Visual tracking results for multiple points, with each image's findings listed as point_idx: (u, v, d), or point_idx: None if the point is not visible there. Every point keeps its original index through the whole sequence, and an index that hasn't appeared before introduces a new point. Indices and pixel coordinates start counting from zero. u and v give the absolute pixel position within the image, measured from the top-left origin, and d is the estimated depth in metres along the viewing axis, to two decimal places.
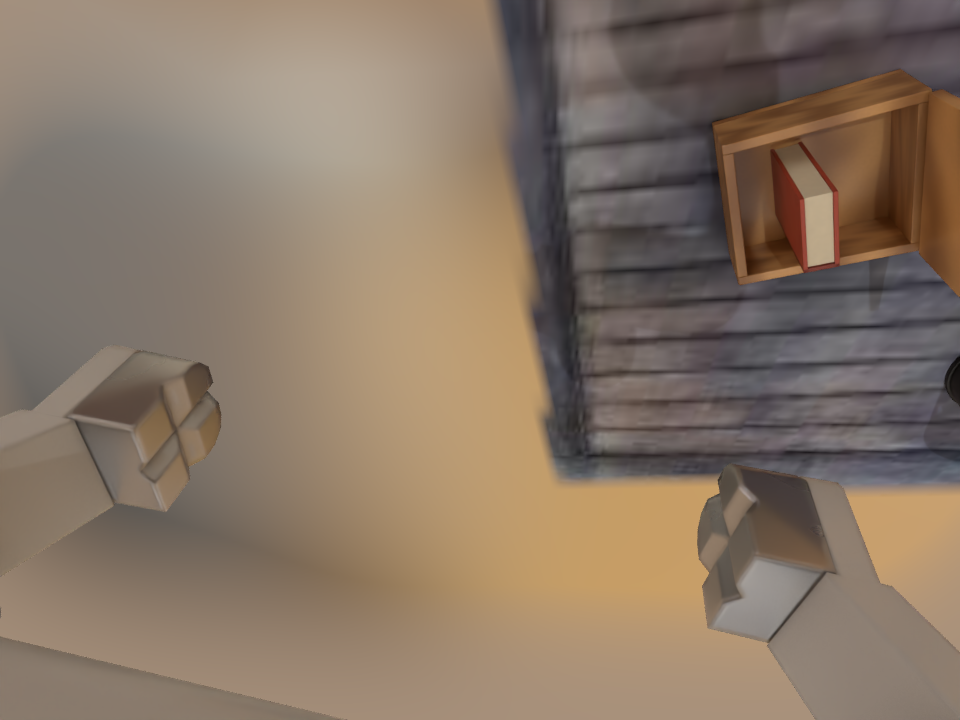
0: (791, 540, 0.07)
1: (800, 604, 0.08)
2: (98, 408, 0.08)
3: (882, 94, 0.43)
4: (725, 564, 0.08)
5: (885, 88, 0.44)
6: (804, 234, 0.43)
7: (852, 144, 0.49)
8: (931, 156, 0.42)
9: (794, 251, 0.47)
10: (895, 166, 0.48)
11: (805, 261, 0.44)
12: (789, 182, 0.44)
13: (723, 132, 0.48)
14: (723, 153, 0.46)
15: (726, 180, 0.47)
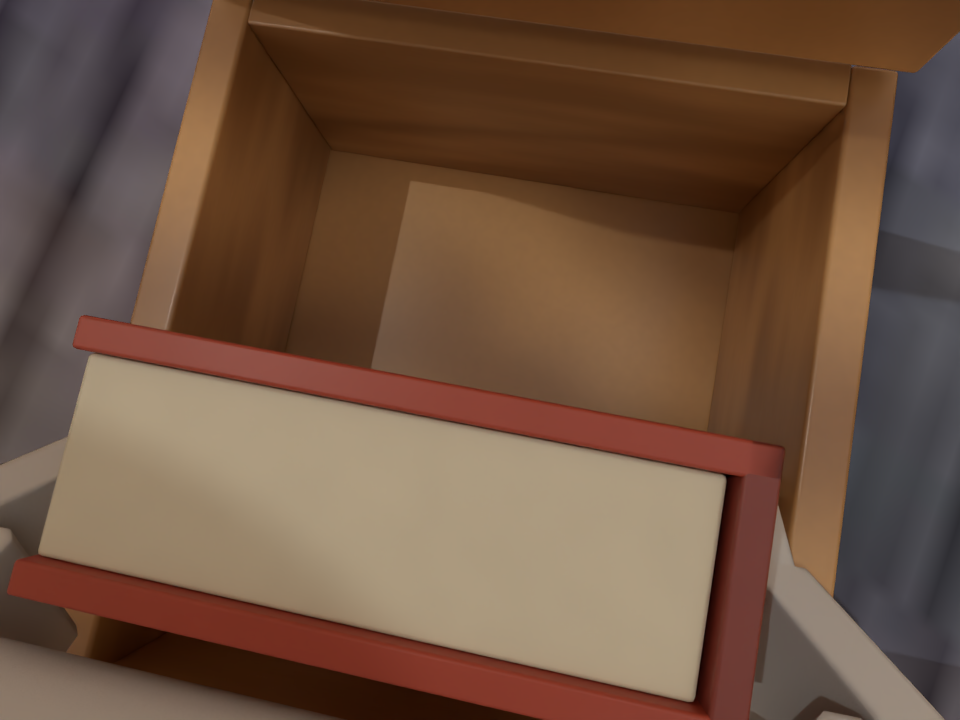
0: None
1: None
2: None
3: None
4: None
5: None
6: (329, 646, 0.05)
7: (450, 266, 0.16)
8: None
9: None
10: (550, 162, 0.15)
11: (614, 716, 0.05)
12: None
13: None
14: None
15: None
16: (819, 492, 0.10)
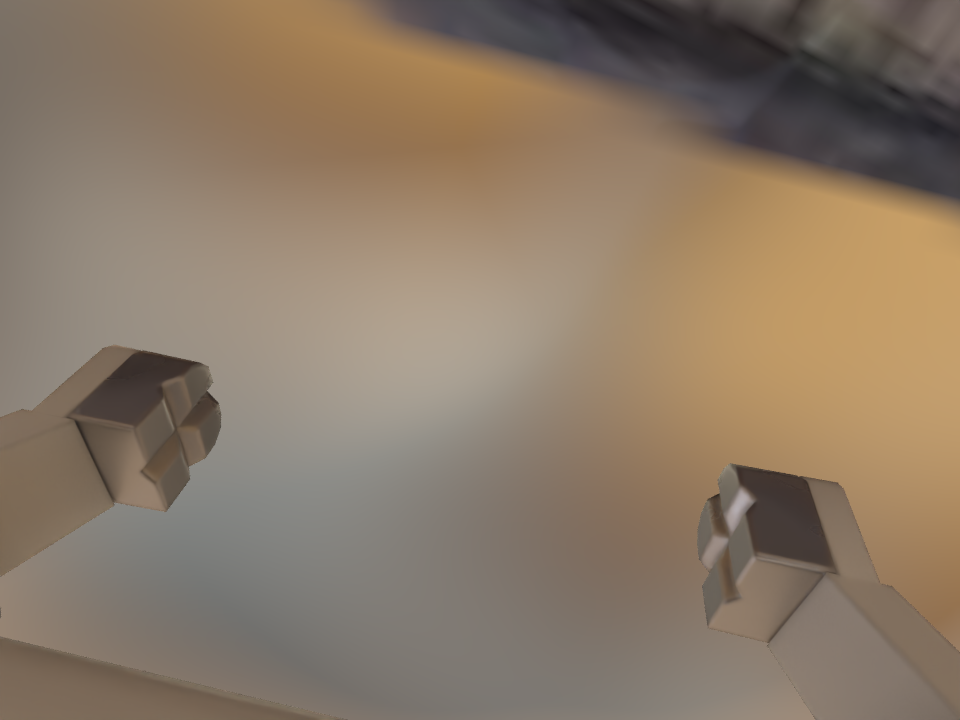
0: (791, 540, 0.07)
1: (800, 604, 0.08)
2: (97, 408, 0.08)
3: None
4: (725, 564, 0.08)
5: None
6: None
7: None
8: None
9: None
10: None
11: None
12: None
13: None
14: None
15: None
16: None
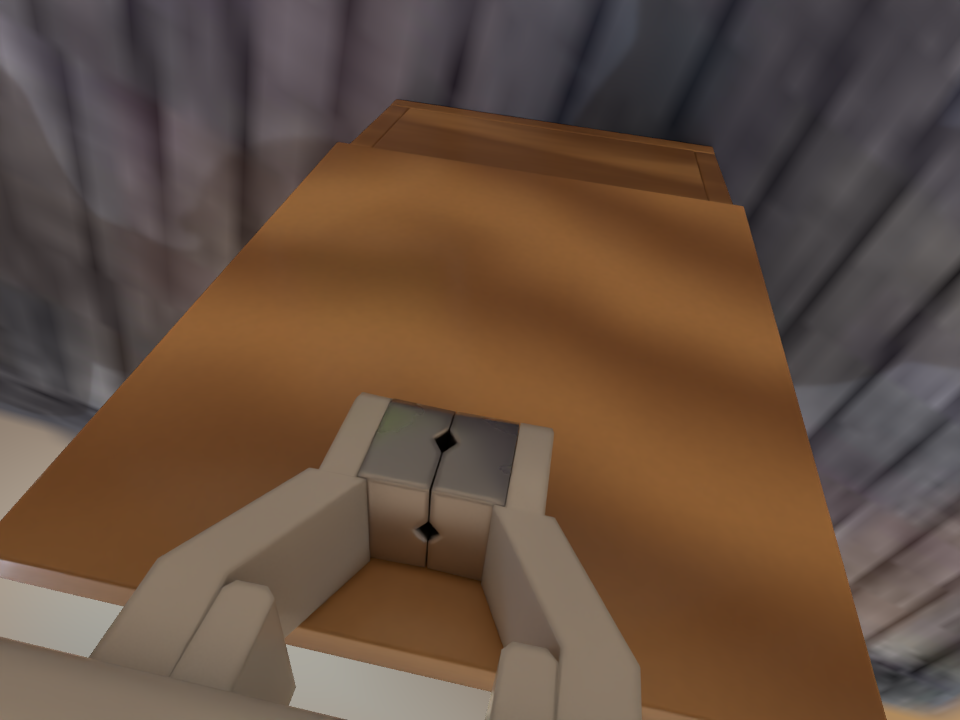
0: (475, 477, 0.08)
1: (489, 539, 0.08)
2: (383, 465, 0.08)
3: None
4: None
5: None
6: None
7: None
8: None
9: None
10: None
11: None
12: None
13: None
14: None
15: None
16: None
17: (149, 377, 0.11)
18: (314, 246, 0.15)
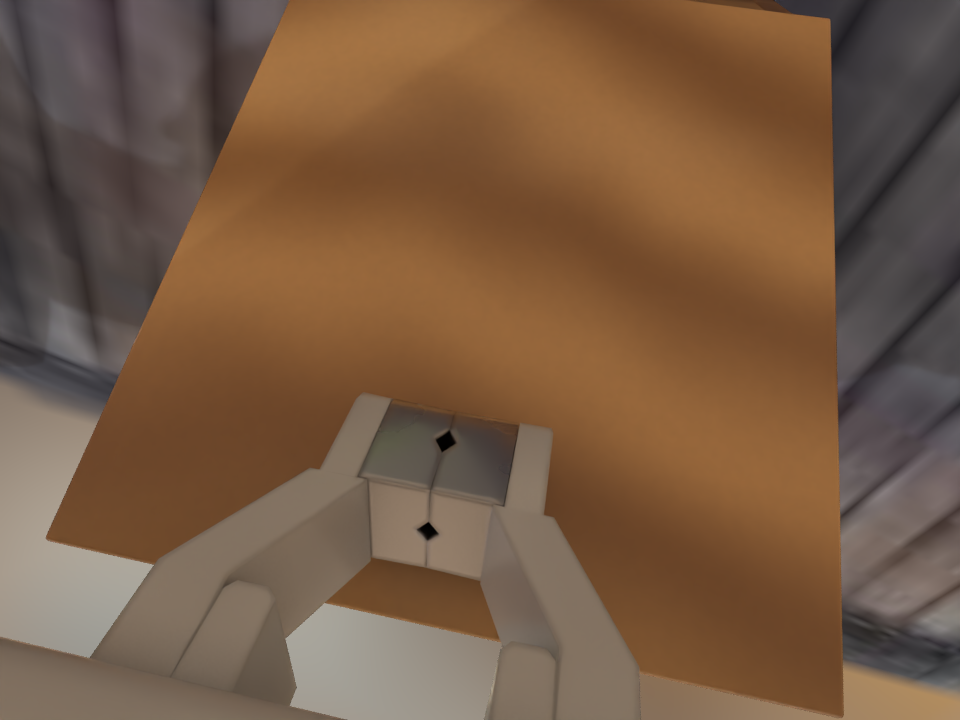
0: (474, 477, 0.08)
1: (488, 539, 0.08)
2: (384, 465, 0.08)
3: None
4: None
5: None
6: None
7: None
8: None
9: None
10: None
11: None
12: None
13: None
14: None
15: None
16: None
17: (155, 340, 0.11)
18: (300, 140, 0.13)
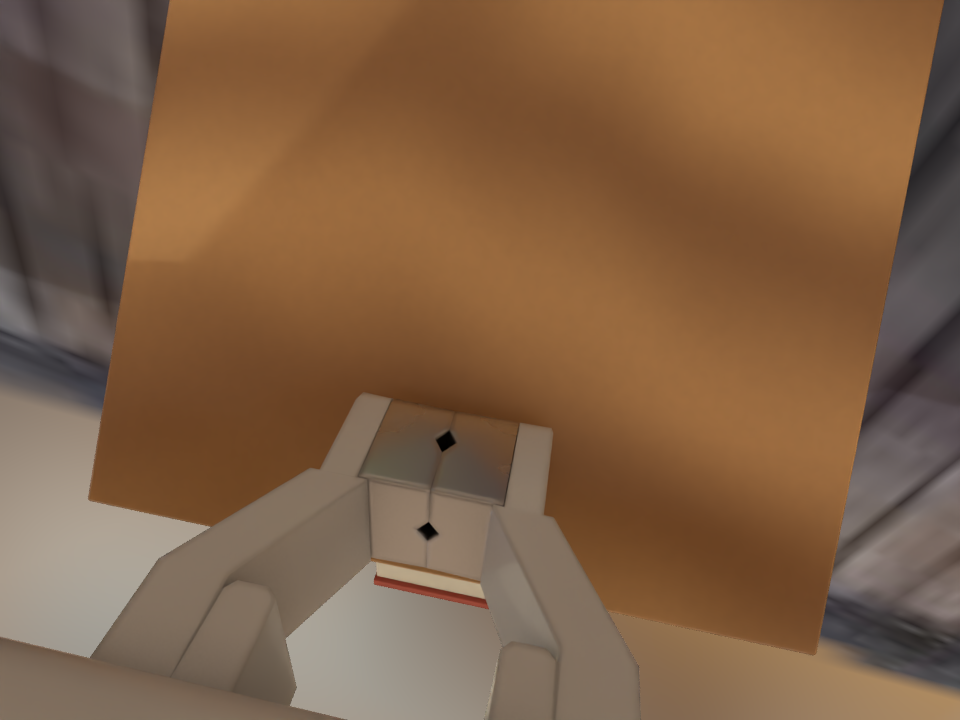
0: (474, 477, 0.08)
1: (487, 539, 0.08)
2: (384, 465, 0.08)
3: None
4: None
5: None
6: (453, 599, 0.20)
7: None
8: None
9: None
10: None
11: None
12: None
13: None
14: None
15: None
16: None
17: (140, 300, 0.10)
18: (252, 27, 0.10)
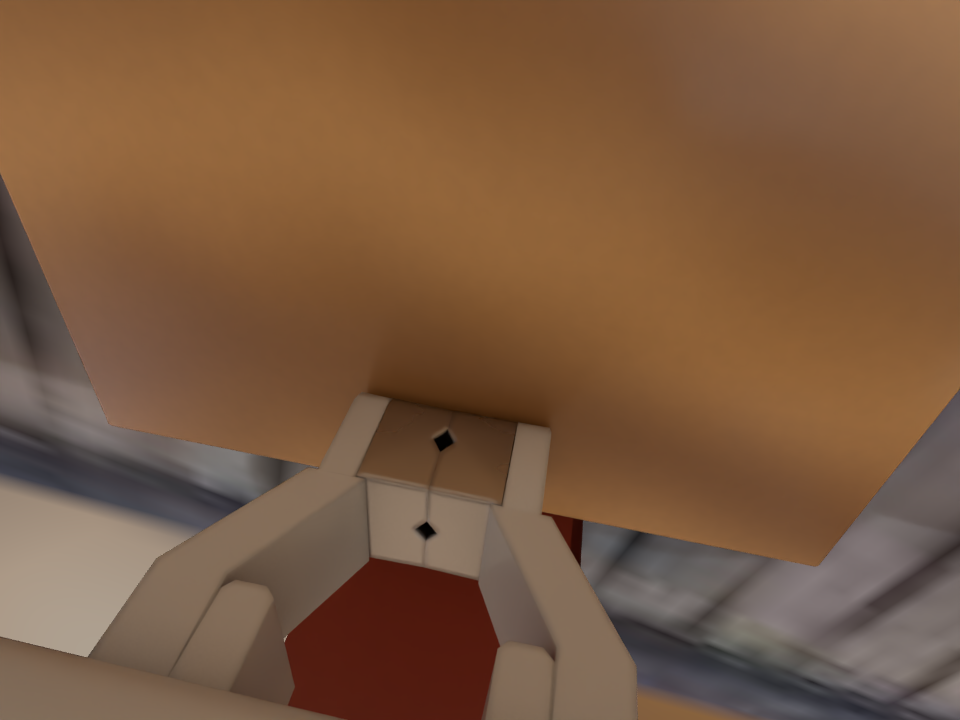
0: (472, 476, 0.08)
1: (486, 539, 0.08)
2: (382, 465, 0.08)
3: None
4: None
5: None
6: None
7: None
8: None
9: None
10: None
11: None
12: None
13: None
14: None
15: None
16: None
17: (55, 252, 0.09)
18: None
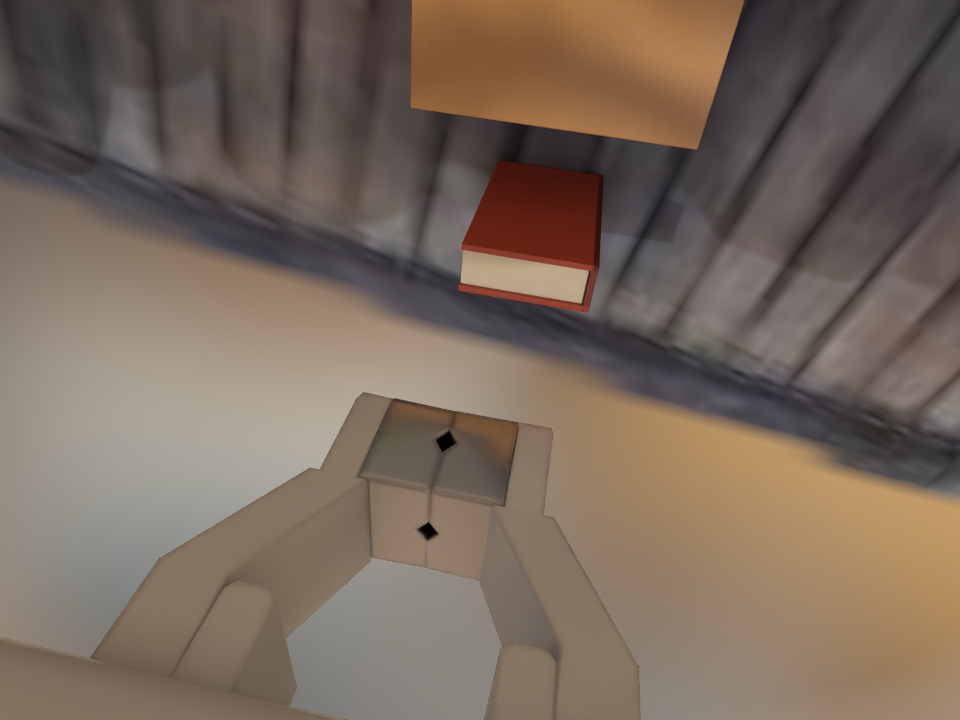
0: (474, 477, 0.08)
1: (487, 539, 0.08)
2: (384, 465, 0.08)
3: None
4: None
5: None
6: (518, 297, 0.27)
7: None
8: None
9: None
10: None
11: (567, 306, 0.27)
12: None
13: None
14: None
15: None
16: None
17: (420, 15, 0.24)
18: None
